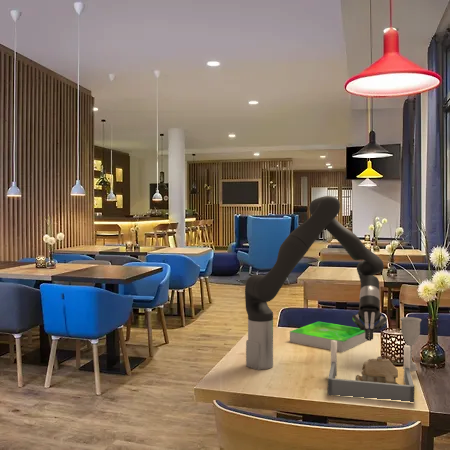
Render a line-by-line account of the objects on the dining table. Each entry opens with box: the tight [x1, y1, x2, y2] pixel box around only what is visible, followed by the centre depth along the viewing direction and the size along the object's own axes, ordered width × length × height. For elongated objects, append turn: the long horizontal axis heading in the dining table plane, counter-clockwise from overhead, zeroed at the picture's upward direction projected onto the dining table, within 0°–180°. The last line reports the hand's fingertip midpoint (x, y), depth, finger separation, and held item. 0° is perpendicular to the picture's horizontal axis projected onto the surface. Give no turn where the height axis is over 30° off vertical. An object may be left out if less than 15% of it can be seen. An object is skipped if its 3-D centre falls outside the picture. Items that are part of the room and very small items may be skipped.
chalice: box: [399, 316, 422, 372], centre depth 179 cm, size 7×7×18 cm
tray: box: [289, 321, 367, 353], centre depth 217 cm, size 25×25×5 cm
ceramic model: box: [354, 356, 399, 384], centre depth 160 cm, size 14×11×10 cm
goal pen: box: [327, 340, 415, 403], centre depth 160 cm, size 20×26×12 cm
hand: (369, 339), depth 180 cm, fingers closed
